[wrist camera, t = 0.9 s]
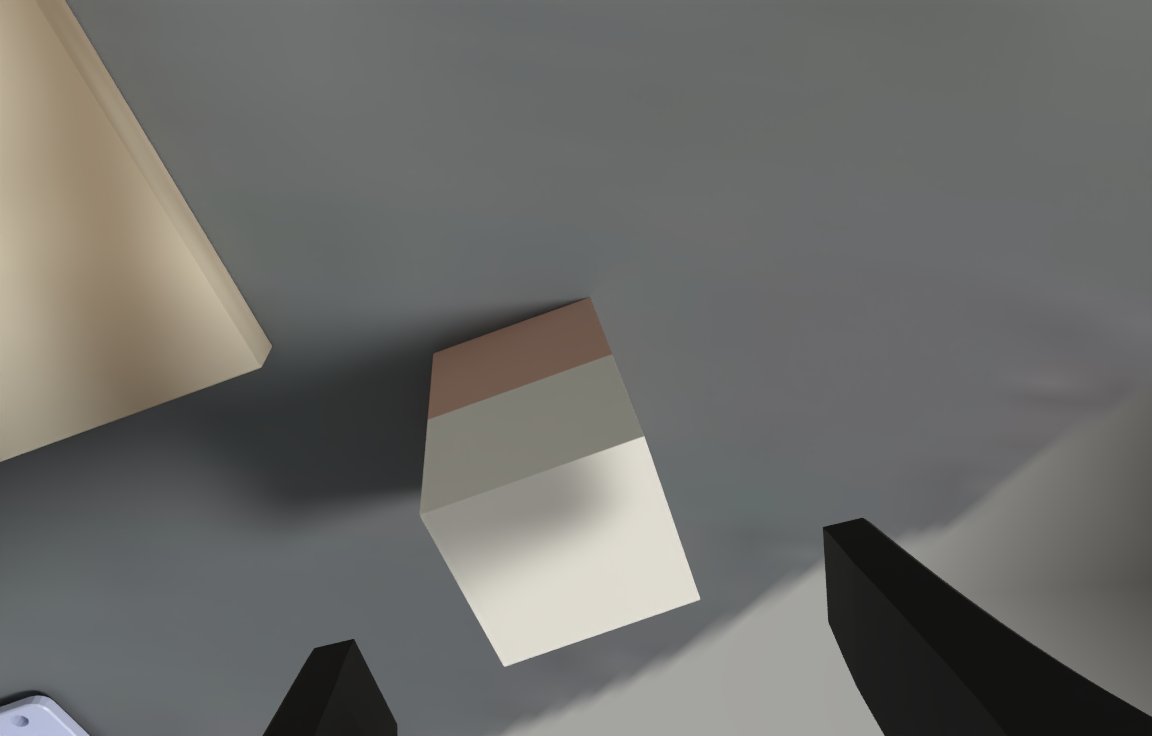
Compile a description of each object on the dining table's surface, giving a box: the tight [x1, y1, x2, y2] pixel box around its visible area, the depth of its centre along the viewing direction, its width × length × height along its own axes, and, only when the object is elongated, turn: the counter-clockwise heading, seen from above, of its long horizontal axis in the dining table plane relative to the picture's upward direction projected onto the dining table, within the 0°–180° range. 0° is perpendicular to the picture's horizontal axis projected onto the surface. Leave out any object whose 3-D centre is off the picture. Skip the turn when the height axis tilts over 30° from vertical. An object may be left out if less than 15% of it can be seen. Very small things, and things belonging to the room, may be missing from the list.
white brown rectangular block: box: [420, 297, 700, 667], centre depth 18 cm, size 4×4×7 cm
